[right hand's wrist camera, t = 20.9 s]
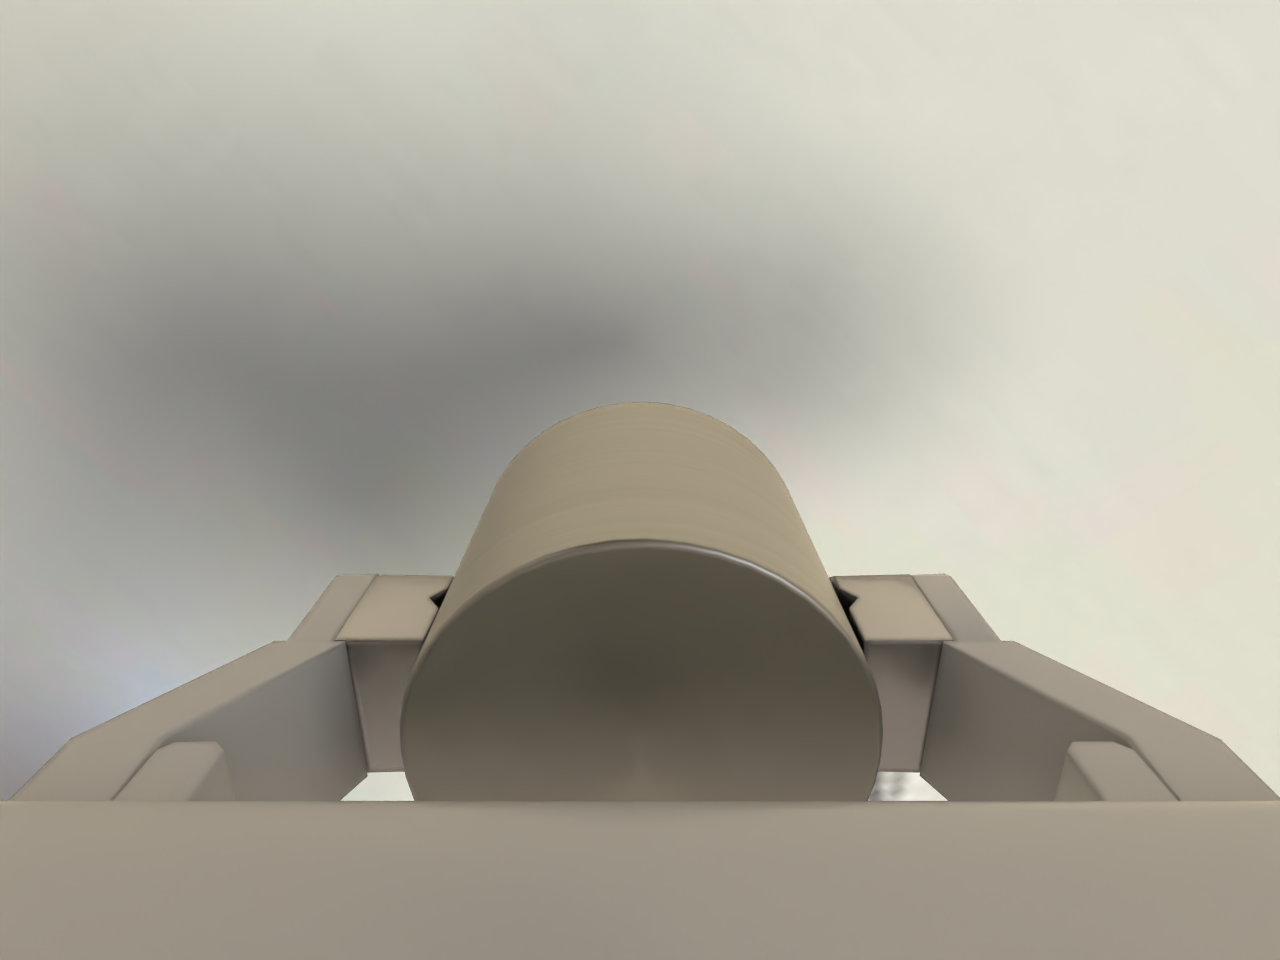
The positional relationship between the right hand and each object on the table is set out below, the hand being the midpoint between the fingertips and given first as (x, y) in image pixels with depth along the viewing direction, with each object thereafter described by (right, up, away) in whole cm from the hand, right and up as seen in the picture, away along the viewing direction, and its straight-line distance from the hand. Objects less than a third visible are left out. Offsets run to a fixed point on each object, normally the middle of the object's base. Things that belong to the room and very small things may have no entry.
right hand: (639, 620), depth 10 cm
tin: (0, +1, +2) cm, 2 cm away
